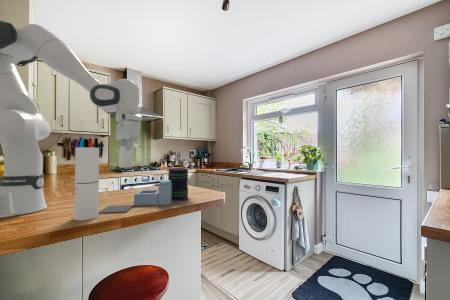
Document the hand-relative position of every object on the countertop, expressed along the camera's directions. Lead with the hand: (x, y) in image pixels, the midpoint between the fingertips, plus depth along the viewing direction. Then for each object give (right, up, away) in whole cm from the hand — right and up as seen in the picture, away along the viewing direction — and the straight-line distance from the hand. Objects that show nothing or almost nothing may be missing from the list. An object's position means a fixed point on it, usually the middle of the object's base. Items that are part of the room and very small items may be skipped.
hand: (126, 150), depth 88 cm
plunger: (+15, -21, +7) cm, 27 cm away
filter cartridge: (0, -7, 0) cm, 7 cm away
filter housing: (+9, -24, +9) cm, 27 cm away
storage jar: (+18, -25, +17) cm, 35 cm away
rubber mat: (-2, -24, -4) cm, 24 cm away
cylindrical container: (-8, -24, -14) cm, 29 cm away
